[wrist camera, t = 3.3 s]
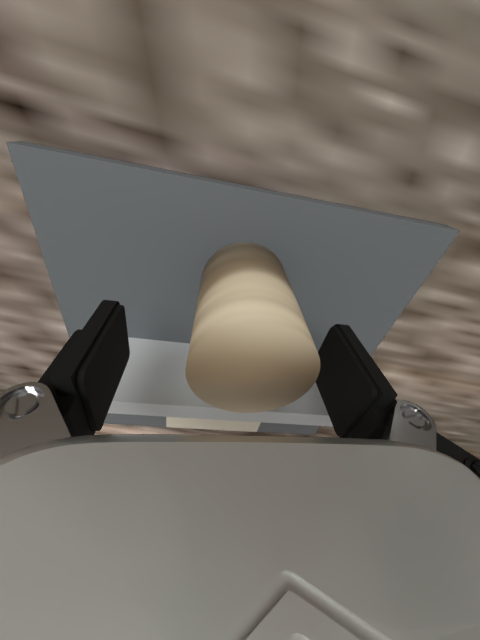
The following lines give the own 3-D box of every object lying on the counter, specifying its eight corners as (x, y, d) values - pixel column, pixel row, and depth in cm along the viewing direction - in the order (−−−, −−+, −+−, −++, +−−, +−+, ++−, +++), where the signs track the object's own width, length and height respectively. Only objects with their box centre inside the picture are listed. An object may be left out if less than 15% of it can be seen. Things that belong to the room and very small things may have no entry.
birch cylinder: (205, 235, 13) (188, 314, 7) (296, 250, 14) (343, 332, 8) (198, 311, 16) (182, 409, 10) (272, 320, 17) (295, 416, 11)
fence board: (21, 141, 11) (-135, 148, 6) (447, 225, 14) (559, 273, 9) (101, 413, 24) (70, 482, 19) (311, 425, 27) (329, 488, 22)
